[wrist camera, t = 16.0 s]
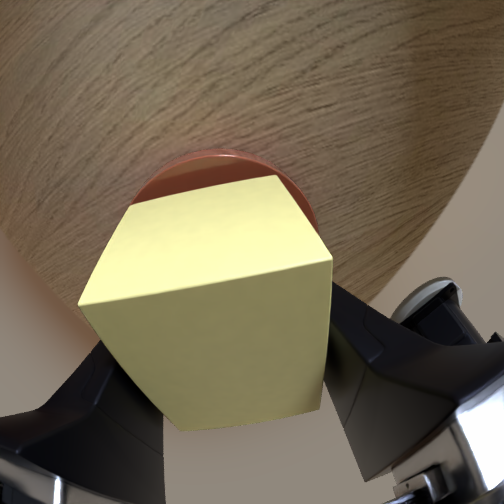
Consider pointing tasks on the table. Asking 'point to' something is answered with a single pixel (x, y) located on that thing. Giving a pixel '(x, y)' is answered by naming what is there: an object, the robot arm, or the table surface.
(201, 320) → the butter slab
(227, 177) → the reddish brown disc
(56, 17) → the table surface
